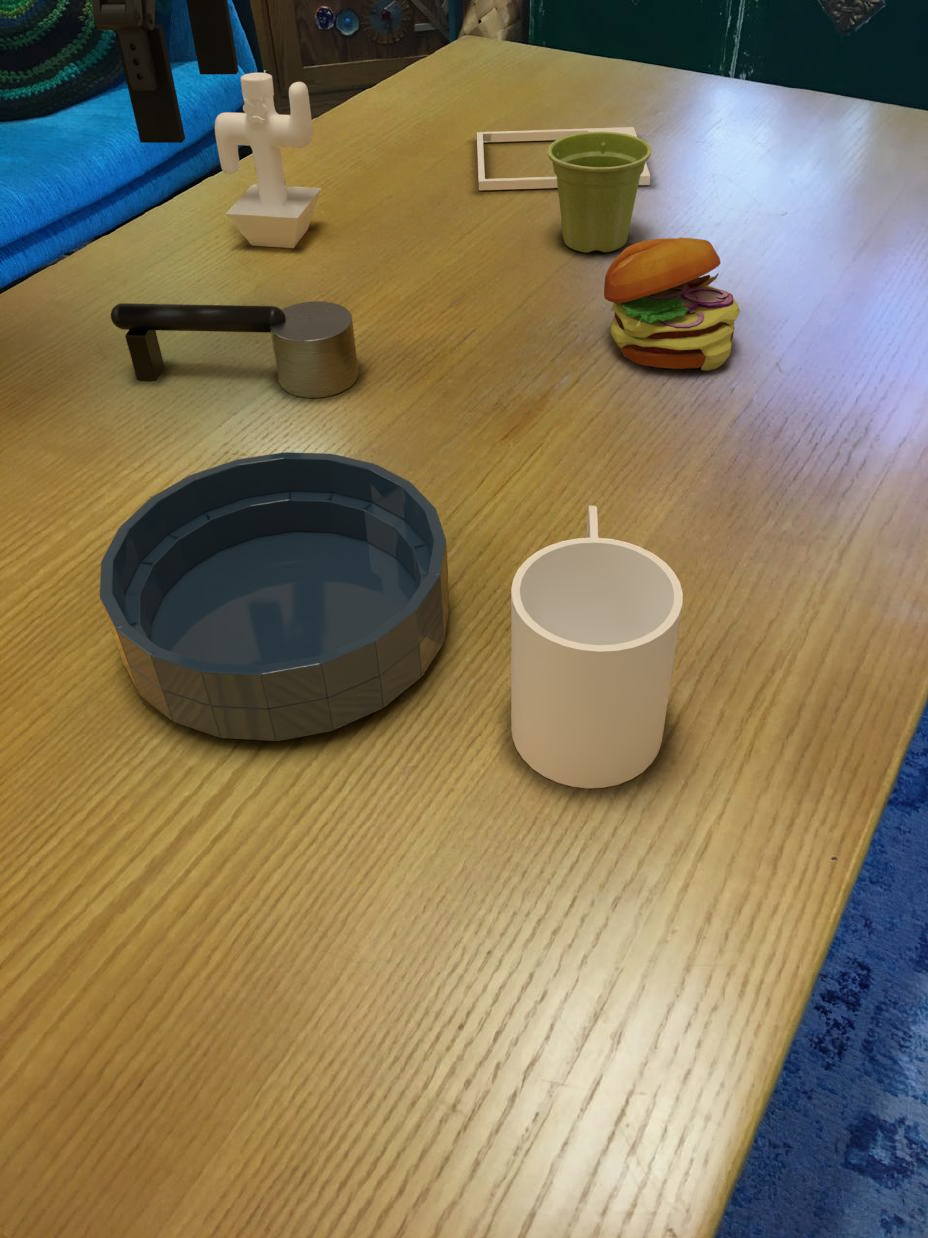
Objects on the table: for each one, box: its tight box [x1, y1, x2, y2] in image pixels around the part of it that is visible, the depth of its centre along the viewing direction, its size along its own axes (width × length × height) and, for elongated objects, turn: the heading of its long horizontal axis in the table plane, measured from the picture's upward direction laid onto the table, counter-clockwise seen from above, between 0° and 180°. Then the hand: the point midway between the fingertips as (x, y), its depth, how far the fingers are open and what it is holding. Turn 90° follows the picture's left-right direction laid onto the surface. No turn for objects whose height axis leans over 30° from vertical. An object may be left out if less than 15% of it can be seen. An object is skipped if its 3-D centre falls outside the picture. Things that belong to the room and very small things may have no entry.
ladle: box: [110, 300, 359, 399], centre depth 84 cm, size 19×6×6 cm, turn 84°
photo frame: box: [476, 126, 651, 191], centre depth 117 cm, size 15×1×18 cm
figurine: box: [214, 72, 322, 249], centre depth 100 cm, size 7×9×15 cm
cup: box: [510, 505, 684, 789], centre depth 56 cm, size 8×12×10 cm
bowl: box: [99, 451, 451, 742], centre depth 63 cm, size 19×19×6 cm
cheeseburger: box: [603, 237, 741, 371], centre depth 85 cm, size 10×11×10 cm
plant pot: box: [547, 132, 652, 254], centre depth 100 cm, size 9×9×9 cm
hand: (193, 104), depth 72 cm, fingers open, 13 cm apart
